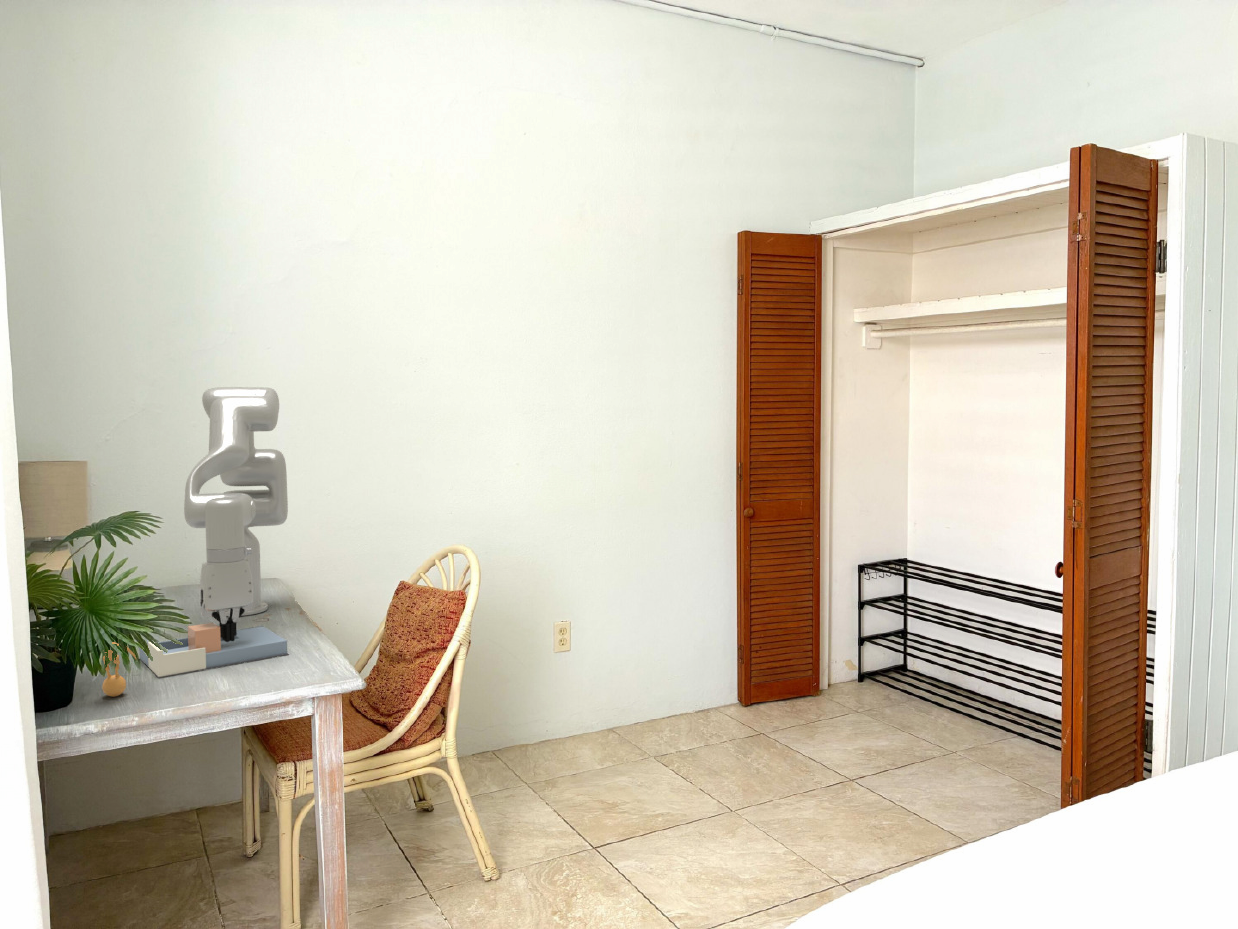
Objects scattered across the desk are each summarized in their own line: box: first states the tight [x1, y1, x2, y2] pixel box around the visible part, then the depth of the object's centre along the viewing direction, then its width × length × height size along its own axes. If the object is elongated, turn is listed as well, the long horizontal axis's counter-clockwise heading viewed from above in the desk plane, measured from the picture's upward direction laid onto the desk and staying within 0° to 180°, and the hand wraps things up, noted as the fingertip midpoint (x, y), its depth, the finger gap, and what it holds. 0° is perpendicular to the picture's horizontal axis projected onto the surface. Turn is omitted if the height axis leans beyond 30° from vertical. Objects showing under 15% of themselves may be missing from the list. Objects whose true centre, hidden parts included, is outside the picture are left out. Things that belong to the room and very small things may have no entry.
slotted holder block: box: [138, 625, 290, 679], centre depth 199 cm, size 17×26×6 cm, turn 129°
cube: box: [187, 622, 221, 653], centre depth 194 cm, size 5×5×5 cm
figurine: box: [101, 641, 137, 697], centre depth 173 cm, size 8×6×12 cm
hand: (228, 640), depth 197 cm, fingers closed
